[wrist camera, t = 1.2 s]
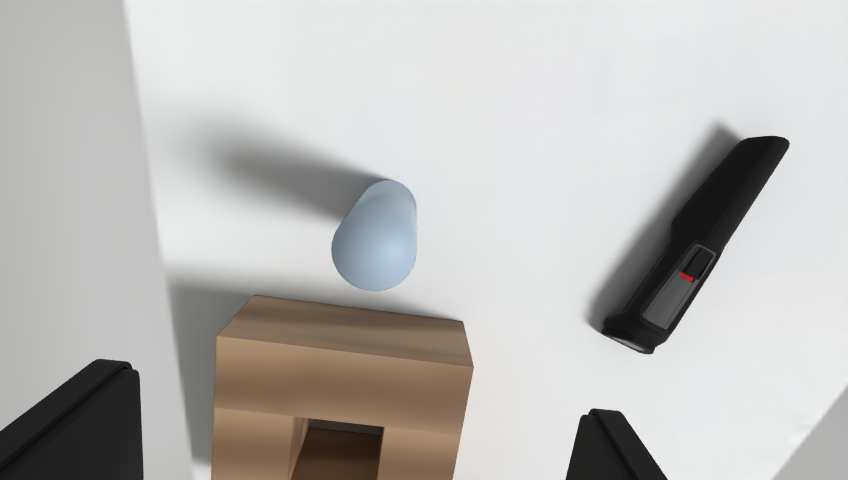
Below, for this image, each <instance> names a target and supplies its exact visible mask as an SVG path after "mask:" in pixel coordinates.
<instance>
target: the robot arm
mask: <svg viewBox="0 0 848 480" xmlns="http://www.w3.org/2000/svg"><path fill="white" fill-rule="evenodd" d="M0 480H143V453H142V426H141V401H140V378H139V373H138V371H137V370H133V369H132V366H131V364H130V363H129V362H125V361H115V360H105V359H97V360H95V361H93V362H92V363H90V364H89V365H88V366H86V367H85V368H84V369H82V370H81V371H80V372H78V373H77V374H76V375H74V376H73V377H72V378H70V379H69V380H68V381H66V382H65V383H64V384H62V385H61V386H60V387H59V388H57V389H56V390H54V391H53V392H52V393H50V394H49V395H48V396H46V397H45V398H44V399H42V400H41V401H40V402H38V403H37V404H36V405H34V406H33V407H32V408H30V409H29V410H28V411H27V412H25V413H24V414H22V415H21V416H20V417H19V418H17V419H16V420H15V421H13V422H12V423H11V424H9V425H8V426H7V427H5V428H4V429H3V430H1V431H0ZM566 480H668V479H667V478H666V476H665V475H664V474H663V472H662V471H661V469H660V468H659V466H658V465H657V463H656V462H655V460H654V459H653V457H652V456H651V455H650V453H649V452H648V450H647V449H646V447H645V446H644V444H643V443H642V441H641V440H640V439H639V437H638V436H637V434H636V433H635V431H634V430H633V428H632V427H631V425H630V424H629V423H628V421H627V420H626V418H625V417H624V415H623V414H622V413H621V412H619V411H614V410H604V409H594V408H593V409H591V410H590V412H589V414H588V415H582V417H581V418H580V422H579V426H578V430H577V434H576V438H575V442H574V447H573V451H572V455H571V459H570V463H569V467H568V472H567V476H566Z"/></svg>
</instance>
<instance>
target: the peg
mask: <svg viewBox="0 0 848 480" xmlns="http://www.w3.org/2000/svg"><path fill="white" fill-rule="evenodd" d="M332 258H333V262H334V264H335V267H336V269H337V270H338V272H339V273H340V275H341V276H342V277H343V278H344V279H345V280H346V281H347V282H349V283H350V284H352V285H353V286H355V287H357V288H360V289H363V290H368V291H382V290H387V289H390V288H392V287H394V286H396V285H398V284H399V283H401V282H402V281H403V280H404V279H405V278H406V277H407V276H408V275H409V273H410V272H411V270H412V268H413V266H414V263H415V259H416V203H415V199H414V197H413V195H412V193H411V192H410V190H409V189H408V188H407V187H405V186H404V185H403V184H401V183H399V182H396V181H392V180H383V181H379V182H376V183H374V184H372V185H371V186H369V187H368V188H367V189H366V190H365V192H364V193H363V194H362V196H361V197H360V198H359V200H358V201H357V203H356V204H355V205H354V207H353V208H352V209H351V211H350V212H349V213H348V215H347V216H346V218H345V219H344V220H343V222H342V223H341V224H340V226H339V227H338V229H337V230H336V232H335V235H334V237H333V241H332Z"/></svg>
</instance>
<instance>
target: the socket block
mask: <svg viewBox="0 0 848 480" xmlns="http://www.w3.org/2000/svg"><path fill="white" fill-rule="evenodd" d="M473 369H474V366H473V362H472V358H471V353H470V349H469V345H468V341H467V337H466V332H465V328H464V324H463V322H461V321H453V320H446V319H438V318H430V317H422V316H414V315H406V314H398V313H391V312H383V311H375V310H367V309H359V308H351V307H343V306H336V305H328V304H320V303H312V302H304V301H296V300H288V299H281V298H273V297H265V296H257V295H254V296H253V297H252V298H251V299H250V300H249V301H248V303H247V304H246V305H245V306H244V307H243V308H242V309H241V310H240V311H239V312H238V313H237V314H236V316H235V317H234V318H233V319H232V320H231V321H230V322H229V323H228V324H227V325H226V326H225V327H224V328H223V330H222V331H221V332H220V333H219V334H218V335H217V340H216V366H215V392H214V418H213V444H212V470H211V480H452V479H453V474H454V469H455V463H456V458H457V453H458V448H459V442H460V437H461V432H462V427H463V421H464V416H465V411H466V405H467V400H468V395H469V390H470V384H471V379H472V374H473ZM310 418H311V419H320V420H329V421H337V422H346V423H355V424H364V425H372V426H381V427H382V434H381V436H378V435H369V434H360V433H351V432H342V431H333V430H324V429H316V428H309V423H310Z"/></svg>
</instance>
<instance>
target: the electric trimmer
mask: <svg viewBox="0 0 848 480" xmlns="http://www.w3.org/2000/svg"><path fill="white" fill-rule="evenodd" d="M789 144H790V143H789V141H788V140H787V139H785V138H783V137H778V136H763V137H753V138H747V139H744V140H742V141H740V142H739V143H738V144H737V145H736V146H735V148H734V149H733V150H732V151H731V152H730V153H729V155H728V156H727V157H726V158H725V159H724V160H723V162H722V163H721V164H720V165H719V166H718V167H717V169H716V170H715V171H714V172H713V173H712V174H711V176H710V177H709V178H708V179H707V180H706V181H705V183H704V184H703V185H702V186H701V187H700V188H699V190H698V191H697V192H696V193H695V194H694V195H693V197H692V198H691V199H690V200H689V201H688V203H687V204H686V205H685V206H684V208H683V209H682V210H681V211H680V213H679V214H678V215H677V216H676V217H675V219H674V220H673V222H672V235H671V241H670V243H669V245H668V246H667V248H666V249H665V251H664V252H663V254H662V255H661V257H660V258H659V259H658V261H657V262H656V264H655V265H654V267H653V268H652V270H651V271H650V273H649V274H648V275H647V277H646V278H645V280H644V281H643V283H642V284H641V286H640V287H639V289H638V290H637V292H636V293H635V294H634V296H633V297H632V299H631V300H630V302H629V303H628V305H627V306H626V308H625V309H624V310H623V312H622V313H621V314H619V315H617V316H614V317H611V318H608V319H606V320H605V321H604V325H605V328H606V329H604V330H603V332H602V334H603V335H605V336H607V337H609V338H611V339H613V340H615V341H617V342H619V343H621V344H623V345H625V346H627V347H629V348H631V349H633V350H635V351H637V352H639V353H643V354H653V352H654V349H655V347H657V346H658V345H660V344H662V343H664V342H666V340H667V339H668V337H669V336H670V335H671V333H672V332H673V331H674V329H675V328H676V326H677V325H678V323H679V322H680V320H681V319H682V317H683V315H684V314H685V312H686V311H687V309H688V308H689V306H690V304H691V303H692V301H693V300H694V298H695V297H696V295H697V293H698V292H699V290H700V289H701V287H702V286H703V284H704V282H705V281H706V279H707V278H708V276H709V275H710V273H711V271H712V270H713V268H714V266H715V265H716V263H717V261H718V260H719V258H720V256H721V254H722V252H723V249H724V247H725V246H726V244H727V243H728V241H729V239H730V238H731V236H732V235H733V233H734V232H735V230H736V229H737V227H738V226H739V224H740V222H741V221H742V219H743V218H744V216H745V215H746V213H747V212H748V210H749V209H750V207H751V205H752V204H753V202H754V201H755V199H756V198H757V196H758V195H759V193H760V192H761V190H762V188H763V187H764V185H765V184H766V182H767V181H768V179H769V178H770V176H771V175H772V173H773V172H774V170H775V168H776V167H777V165H778V164H779V162H780V161H781V159H782V158H783V156H784V155H785V153H786V151H787V150H788V148H789ZM618 331H619V332H618ZM628 334H629V335H628Z"/></svg>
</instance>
